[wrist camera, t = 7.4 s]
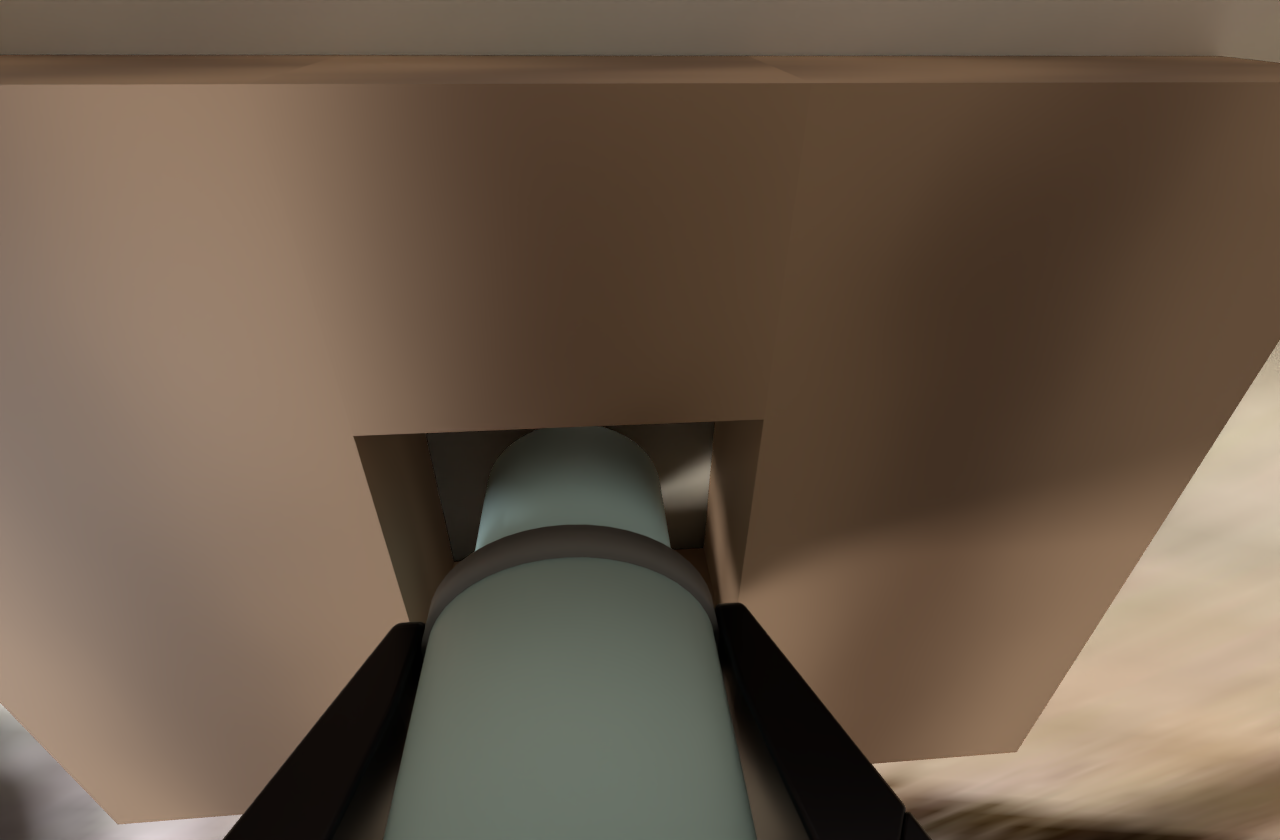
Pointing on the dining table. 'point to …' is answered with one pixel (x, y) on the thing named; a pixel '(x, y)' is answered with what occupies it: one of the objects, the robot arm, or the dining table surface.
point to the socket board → (601, 362)
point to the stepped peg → (571, 666)
